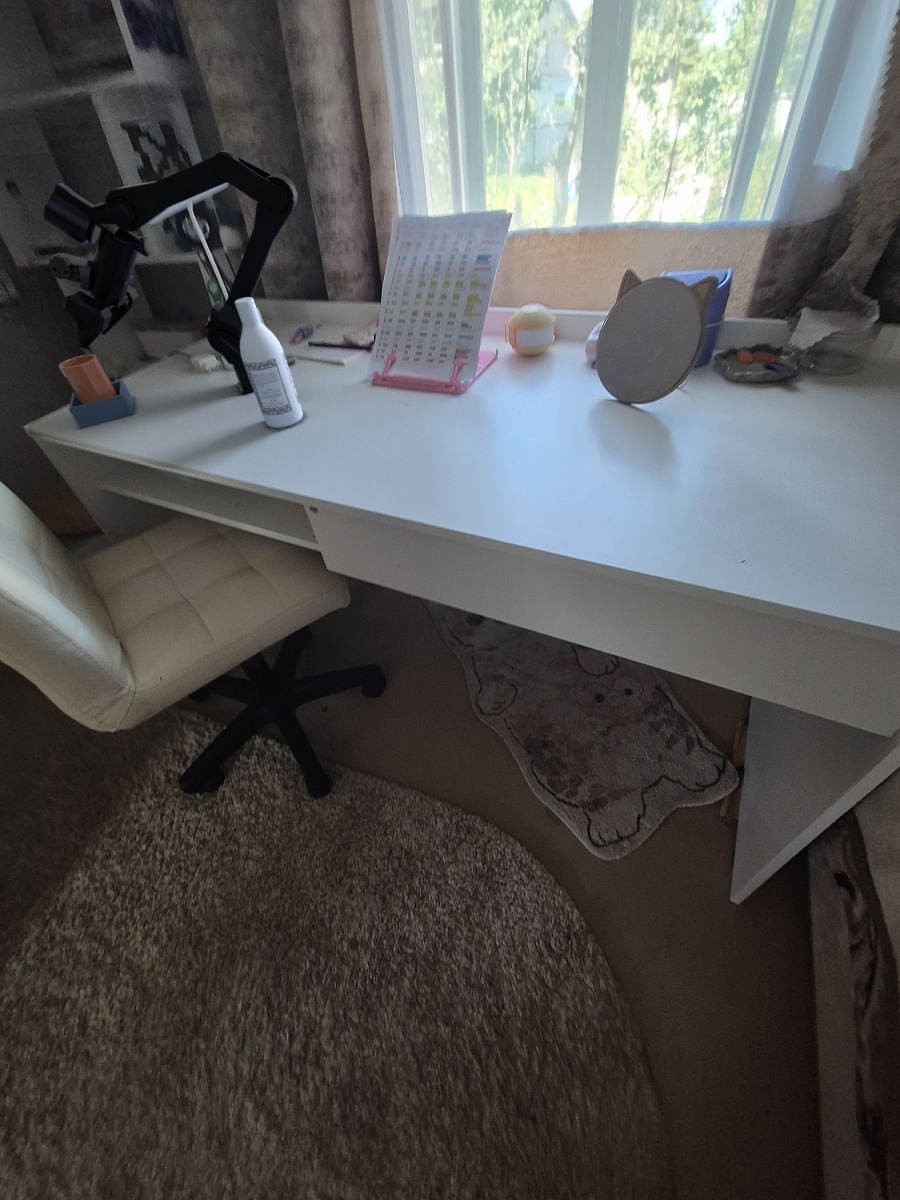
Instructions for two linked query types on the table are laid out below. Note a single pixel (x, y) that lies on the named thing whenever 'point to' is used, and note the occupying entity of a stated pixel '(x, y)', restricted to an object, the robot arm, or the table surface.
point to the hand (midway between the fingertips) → (92, 340)
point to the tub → (103, 407)
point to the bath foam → (267, 369)
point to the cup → (87, 378)
